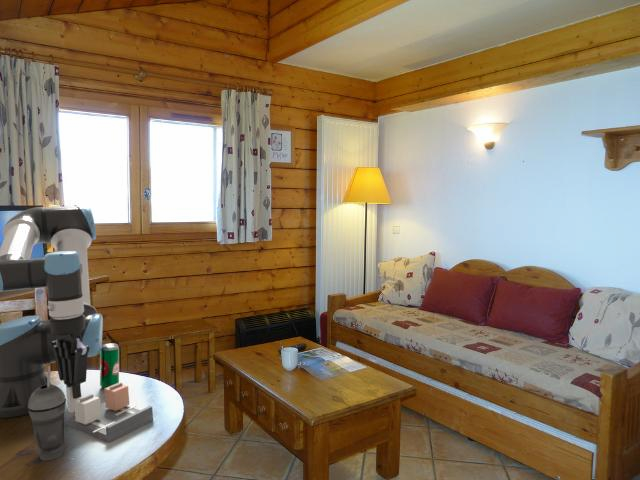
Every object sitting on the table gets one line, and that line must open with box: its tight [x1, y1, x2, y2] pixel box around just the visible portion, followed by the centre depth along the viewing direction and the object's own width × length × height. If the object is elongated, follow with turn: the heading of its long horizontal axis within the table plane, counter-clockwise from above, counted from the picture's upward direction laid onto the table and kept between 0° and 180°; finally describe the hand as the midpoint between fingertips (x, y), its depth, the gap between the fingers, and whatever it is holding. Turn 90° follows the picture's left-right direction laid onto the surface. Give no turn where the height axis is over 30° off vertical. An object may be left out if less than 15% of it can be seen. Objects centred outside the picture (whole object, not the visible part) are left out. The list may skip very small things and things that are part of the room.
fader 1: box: [74, 394, 101, 425], centre depth 117 cm, size 4×4×6 cm
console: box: [66, 402, 154, 443], centre depth 119 cm, size 17×14×4 cm
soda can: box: [99, 342, 120, 389], centre depth 141 cm, size 5×5×12 cm
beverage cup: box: [28, 365, 67, 462], centre depth 104 cm, size 7×7×20 cm
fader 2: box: [103, 382, 130, 411], centre depth 124 cm, size 4×4×6 cm
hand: (75, 409), depth 119 cm, fingers closed
